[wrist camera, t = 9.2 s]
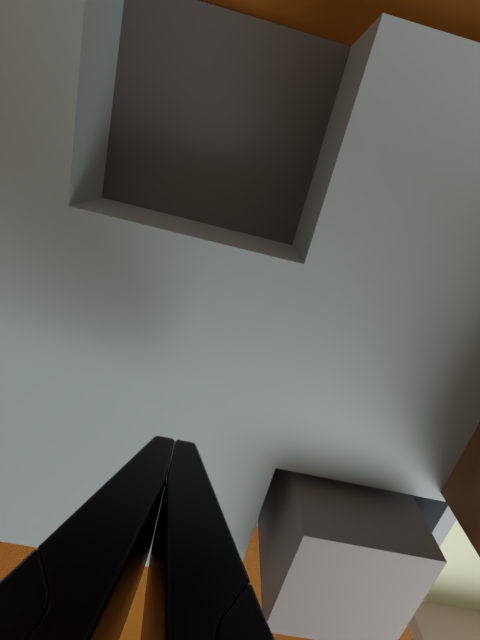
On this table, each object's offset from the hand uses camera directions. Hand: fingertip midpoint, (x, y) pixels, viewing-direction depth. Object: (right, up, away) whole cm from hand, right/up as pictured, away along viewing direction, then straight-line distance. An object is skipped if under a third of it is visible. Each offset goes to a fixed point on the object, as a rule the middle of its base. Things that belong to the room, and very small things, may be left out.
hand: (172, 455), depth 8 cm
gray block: (+5, -4, +7) cm, 9 cm away
